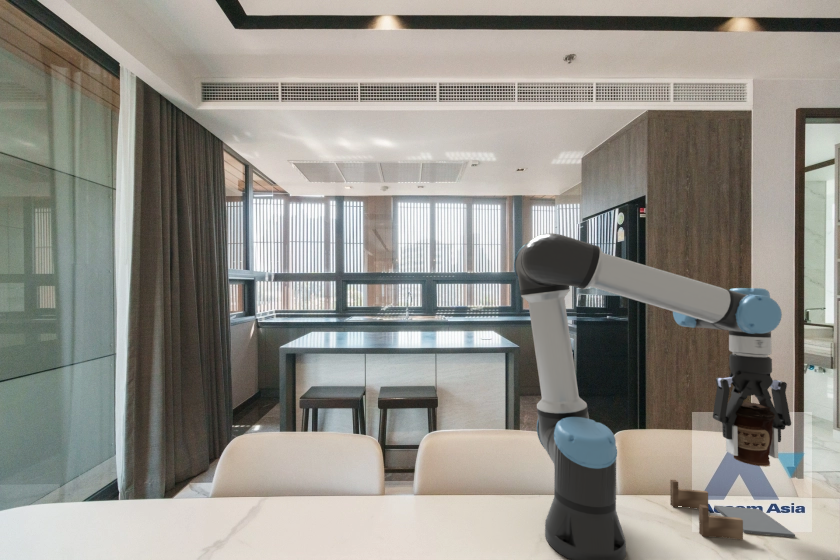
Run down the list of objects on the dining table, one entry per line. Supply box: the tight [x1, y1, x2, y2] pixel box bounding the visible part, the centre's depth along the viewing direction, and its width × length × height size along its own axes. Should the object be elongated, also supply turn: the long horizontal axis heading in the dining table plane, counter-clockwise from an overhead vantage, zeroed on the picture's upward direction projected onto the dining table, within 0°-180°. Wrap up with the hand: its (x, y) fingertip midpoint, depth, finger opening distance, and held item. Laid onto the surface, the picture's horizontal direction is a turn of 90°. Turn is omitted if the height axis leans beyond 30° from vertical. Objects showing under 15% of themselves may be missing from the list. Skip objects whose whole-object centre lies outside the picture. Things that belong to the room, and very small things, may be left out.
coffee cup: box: [733, 401, 775, 467], centre depth 89 cm, size 9×8×13 cm
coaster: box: [713, 504, 796, 538], centre depth 88 cm, size 10×10×1 cm
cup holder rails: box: [669, 479, 744, 540], centre depth 88 cm, size 8×13×6 cm, turn 173°
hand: (751, 454), depth 88 cm, fingers closed on coffee cup, 8 cm apart
